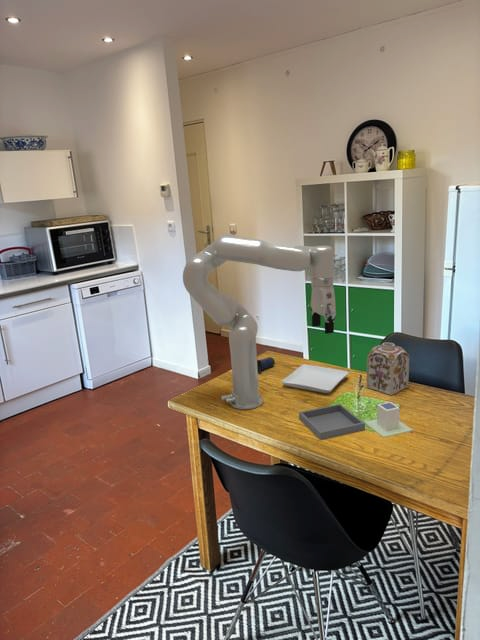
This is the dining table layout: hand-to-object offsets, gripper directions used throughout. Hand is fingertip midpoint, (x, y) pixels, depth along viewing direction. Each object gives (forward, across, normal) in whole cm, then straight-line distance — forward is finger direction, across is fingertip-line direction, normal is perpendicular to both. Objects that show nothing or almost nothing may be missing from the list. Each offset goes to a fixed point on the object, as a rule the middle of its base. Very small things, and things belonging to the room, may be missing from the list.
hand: (322, 329), depth 174 cm
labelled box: (+28, -26, -10) cm, 39 cm away
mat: (+28, -26, -10) cm, 40 cm away
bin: (+28, -17, +6) cm, 34 cm away
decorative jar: (+29, +2, -29) cm, 41 cm away
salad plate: (+29, +18, -6) cm, 35 cm away
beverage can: (+29, +42, +8) cm, 52 cm away
